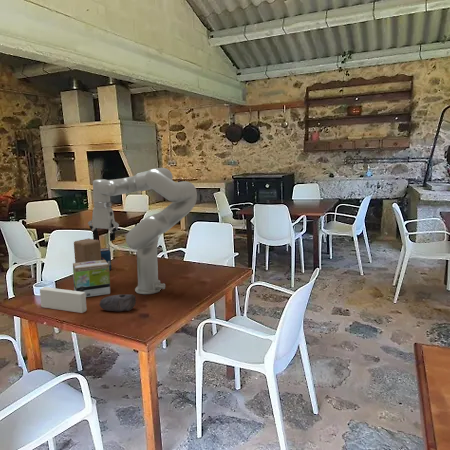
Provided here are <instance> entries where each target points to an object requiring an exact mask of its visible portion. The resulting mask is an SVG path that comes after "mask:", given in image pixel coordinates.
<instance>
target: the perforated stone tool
mask: <svg viewBox="0 0 450 450" xmlns="http://www.w3.org/2000/svg"><path fill="white" fill-rule="evenodd" d="M136 299H137V298H136V295H134V294H126V293H125V294H121V293H120V294H114V295H107V296H105V297H103V298H102V299H100V300H99V307H100V308H101V309H102V310H104V311H108V312H111V311H113V312H124V311H128V312H130V311H131V310H132V309H134V308H135V306H136V303H137V300H136Z"/></svg>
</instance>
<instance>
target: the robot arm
mask: <svg viewBox="0 0 450 450" xmlns="http://www.w3.org/2000/svg"><path fill="white" fill-rule="evenodd" d="M173 177H174V176H173V173H172V172H171V170H169V169H168V168H167V167H155V168H151V169H149V170H146V171H142V172H138V173H136V174H135V175H133V176H128V177H123V178H116V179H115V178H114V179H104V178H102V179H100V178H99V179H94V180H93V181H92V192H93V193H92V194H93V209H92V219H90V220H89V221H88V222H87V225H88V226H89V227H88V228H89V229H90V231H91V232H92V237H93V238H92V239H93V240H99V231H98V229H99V230H100V229H102V230H103V229H104V230H108V231H109V232H110V233H109V242H114V241H115V240H116V233H117V231H118V229H119V226H120V224H119V223H118V222H117V221H116V220H115V213H114V210H113V207H112V205H113V204H112V202H111V197H112V196H113V197H115V196H120V195H126V194H130V193H131V194H132V193H135V192H136V193H137V192H144V191H150V190H153V191H154V192H155V193H157V194H159V195H160V196H161V197H163V198H164V199H166V200H168V201H169V202H171V203H170V204H168V205H167V206H166V207H165V208H163V209H162V210H161V211H160V212H156V213H154V214H150V215H148V216H147V217H145V218H143V219H142V220H141V221H140V222H139V223H137V224H136V225H135V226H134V227H132V228H131V229H130V230H128V232H127V234H126V237H125V241H126V244H127V247H128V248H130V249H131V250H134V251H135V250H137V251H136V265H137V266H136V267H137V286H136V287H135V288H134V291H135V292H136V294H139V295H153V294H157V293H159V292H161V291H162V290H165V289H166V283H161V280H160V279H159V270H158V269H159V268H158V244H159V236H160V235H163V234H165V233H167V232H169V230H171V229H172V228H173V227H174V226H175V225H177V224H178V223H179V222H180V221H181V220H182V219H183V218H185V217H186V216H187V215H188V214H189V213H190V212H191V211H192V210H193V209H194V207H195V205H196V204H197V199H198V195H197V194H198V193H197V188H196V187H195V185H194V184H193V182H189V181H185V180H184V181H183V180H182V181H177V182H176V181H175V180H173ZM161 289H162V290H161ZM160 290H161V291H160Z"/></svg>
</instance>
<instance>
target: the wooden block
mask: <svg viewBox="0 0 450 450" xmlns="http://www.w3.org/2000/svg"><path fill="white" fill-rule="evenodd" d="M73 249H74V263H80V262H89V261H97V260H101V249H102V248H101V240H99V239H95V240H93V238H84V239H79V240H75V241H73Z"/></svg>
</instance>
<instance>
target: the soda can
mask: <svg viewBox="0 0 450 450" xmlns="http://www.w3.org/2000/svg"><path fill="white" fill-rule="evenodd" d="M100 249H101V260H106V262H107V263H108V264H109V271H111V269H112V258H111V257H112V255H111V253H112V252H111V250H110V248H109V247H108V248H107V247H105V248H100Z"/></svg>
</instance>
